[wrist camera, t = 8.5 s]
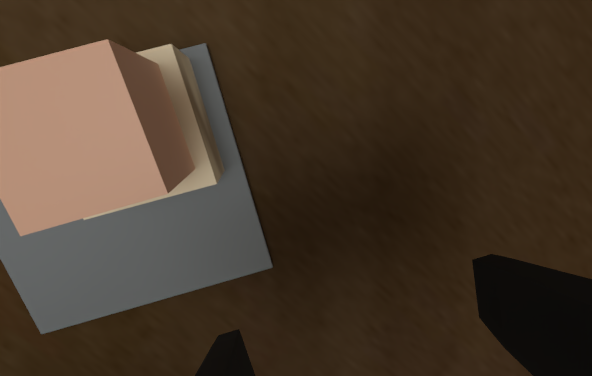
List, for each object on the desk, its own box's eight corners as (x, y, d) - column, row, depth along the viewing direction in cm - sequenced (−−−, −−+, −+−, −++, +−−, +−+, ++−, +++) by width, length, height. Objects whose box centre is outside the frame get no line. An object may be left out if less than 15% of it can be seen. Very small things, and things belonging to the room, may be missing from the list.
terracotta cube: (195, 168, 14) (168, 193, 10) (94, 197, 14) (20, 236, 10) (157, 63, 13) (107, 39, 9) (47, 93, 13) (-62, 83, 8)
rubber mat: (272, 263, 20) (272, 267, 19) (46, 328, 19) (41, 334, 19) (206, 45, 17) (205, 43, 16) (-69, 113, 16) (-79, 113, 15)
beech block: (224, 170, 18) (216, 183, 14) (117, 199, 17) (83, 220, 14) (189, 58, 16) (171, 43, 13) (71, 87, 16) (20, 80, 13)
